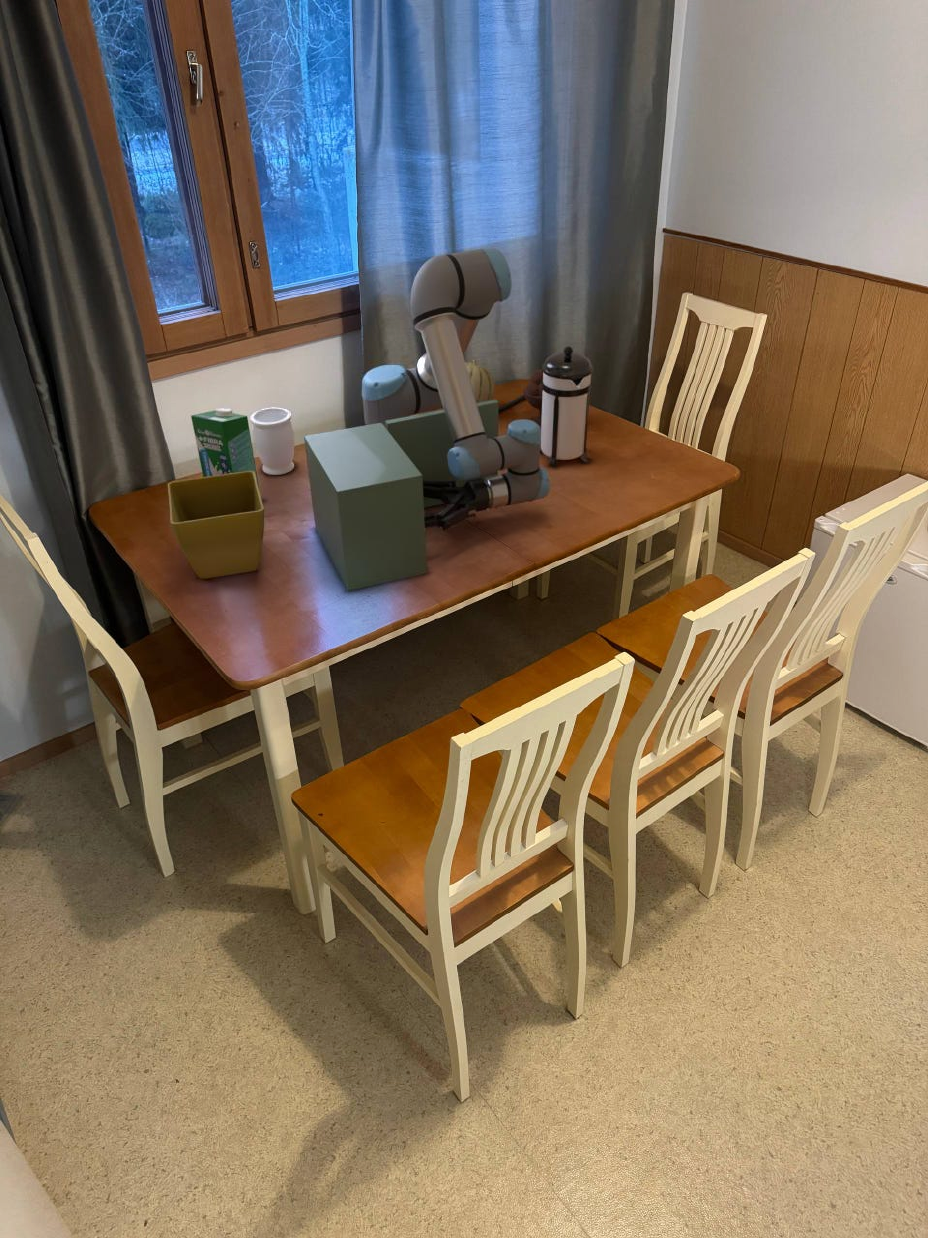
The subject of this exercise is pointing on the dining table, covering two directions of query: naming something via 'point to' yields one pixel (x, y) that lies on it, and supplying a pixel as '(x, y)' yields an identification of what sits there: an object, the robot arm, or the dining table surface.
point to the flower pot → (218, 522)
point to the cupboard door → (436, 442)
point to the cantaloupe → (480, 381)
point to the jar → (274, 439)
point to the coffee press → (565, 406)
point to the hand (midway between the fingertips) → (397, 511)
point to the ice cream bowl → (535, 394)
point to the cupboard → (367, 505)
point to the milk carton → (223, 442)
